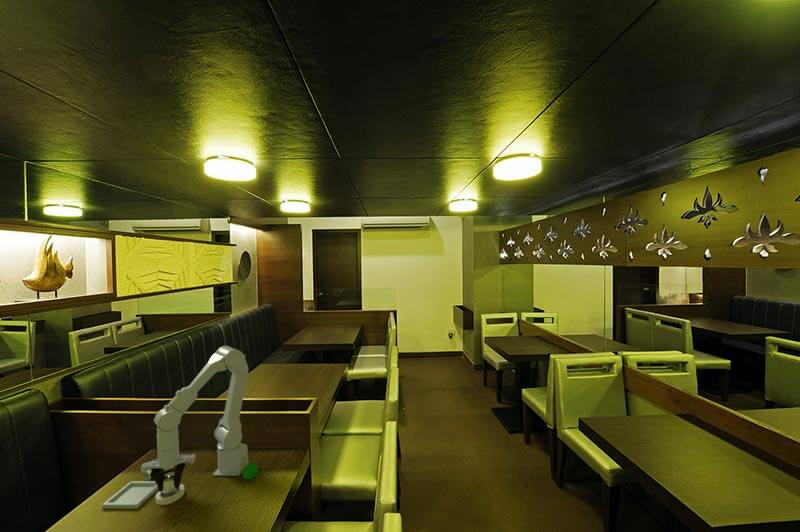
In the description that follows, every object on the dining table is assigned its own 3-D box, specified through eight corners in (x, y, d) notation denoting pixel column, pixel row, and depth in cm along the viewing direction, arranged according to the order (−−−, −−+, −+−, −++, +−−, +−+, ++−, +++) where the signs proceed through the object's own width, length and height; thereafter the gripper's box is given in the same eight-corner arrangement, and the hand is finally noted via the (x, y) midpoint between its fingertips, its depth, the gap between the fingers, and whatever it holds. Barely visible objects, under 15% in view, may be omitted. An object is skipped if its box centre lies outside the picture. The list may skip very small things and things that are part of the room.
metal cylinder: (180, 491, 113) (179, 471, 113) (172, 499, 109) (171, 479, 109) (168, 491, 113) (167, 471, 113) (159, 499, 109) (158, 479, 109)
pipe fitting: (140, 477, 122) (149, 482, 119) (139, 466, 122) (148, 471, 119) (165, 465, 129) (174, 469, 126) (164, 455, 129) (173, 459, 126)
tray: (162, 485, 117) (162, 481, 117) (137, 508, 106) (137, 504, 106) (131, 485, 117) (130, 481, 117) (102, 509, 106) (102, 504, 106)
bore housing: (189, 488, 115) (189, 483, 115) (173, 504, 107) (173, 499, 107) (167, 488, 115) (166, 483, 115) (150, 504, 108) (149, 499, 108)
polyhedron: (243, 475, 121) (242, 462, 121) (258, 472, 123) (257, 459, 123) (242, 484, 117) (241, 470, 116) (257, 480, 118) (257, 466, 118)
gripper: (196, 436, 117) (198, 475, 117) (146, 444, 112) (148, 485, 113) (191, 447, 110) (193, 488, 111) (137, 456, 106) (139, 499, 106)
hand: (170, 488), depth 111 cm, fingers closed on metal cylinder, 4 cm apart
